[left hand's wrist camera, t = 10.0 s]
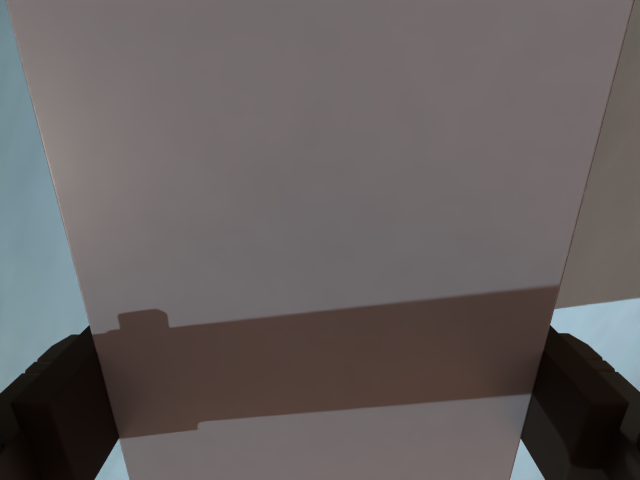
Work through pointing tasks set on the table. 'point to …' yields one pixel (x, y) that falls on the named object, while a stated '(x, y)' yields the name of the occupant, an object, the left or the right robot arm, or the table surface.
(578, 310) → the table surface
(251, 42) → the cabinet
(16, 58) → the table surface
